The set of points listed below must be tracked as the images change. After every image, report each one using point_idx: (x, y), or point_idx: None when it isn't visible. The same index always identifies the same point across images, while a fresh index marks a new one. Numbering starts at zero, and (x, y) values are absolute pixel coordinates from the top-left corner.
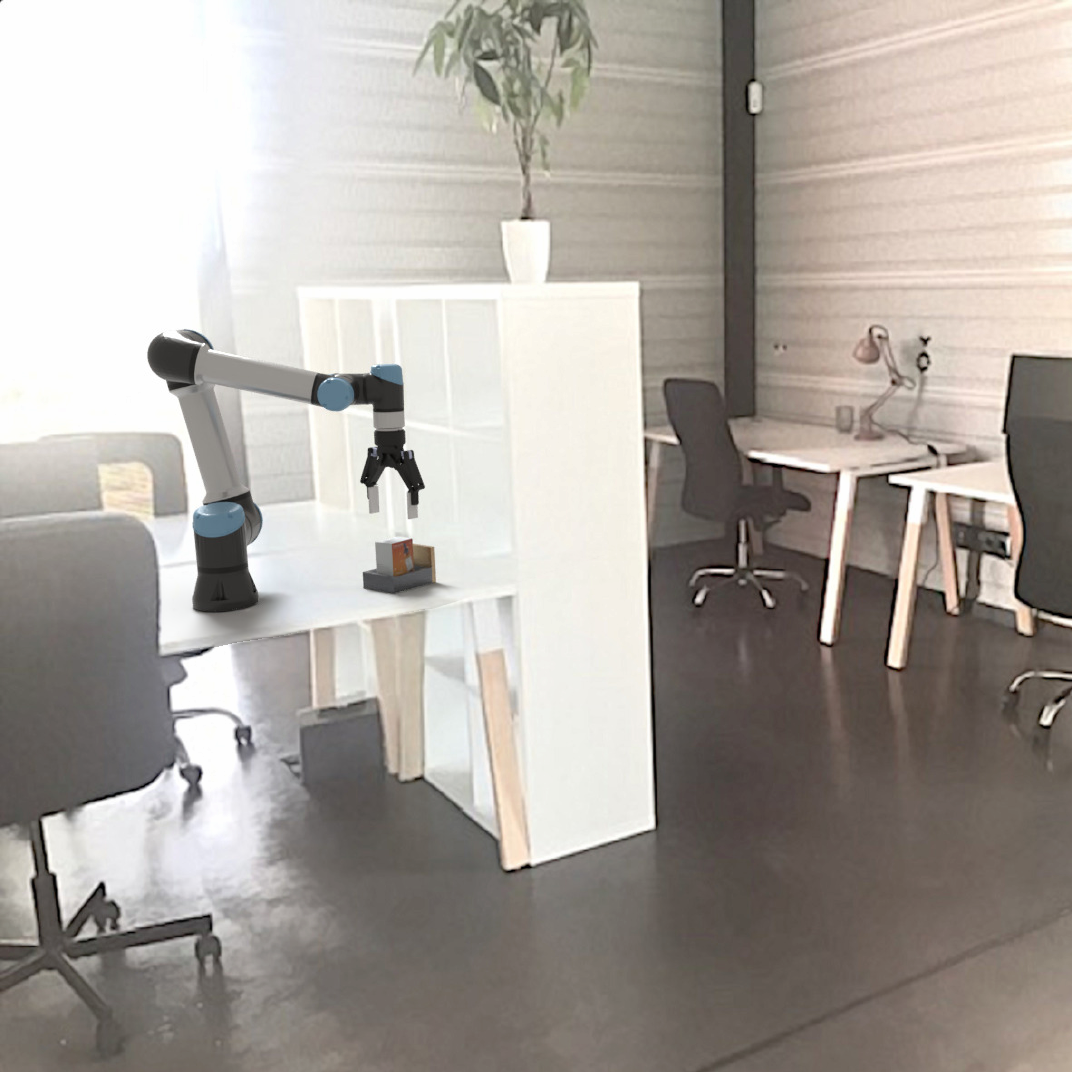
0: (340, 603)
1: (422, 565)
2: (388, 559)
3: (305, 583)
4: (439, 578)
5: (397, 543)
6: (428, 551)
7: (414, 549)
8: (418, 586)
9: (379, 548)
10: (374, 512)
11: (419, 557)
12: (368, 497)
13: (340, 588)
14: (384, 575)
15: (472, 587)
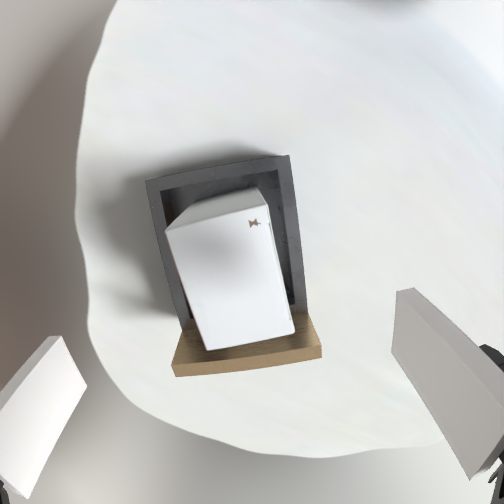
0: (184, 34)
1: None
2: (196, 209)
3: (429, 100)
4: None
5: (175, 265)
6: (184, 355)
7: (248, 347)
8: None
9: (238, 204)
10: (395, 318)
11: None
12: (487, 354)
13: (326, 113)
14: (190, 176)
15: (99, 335)
